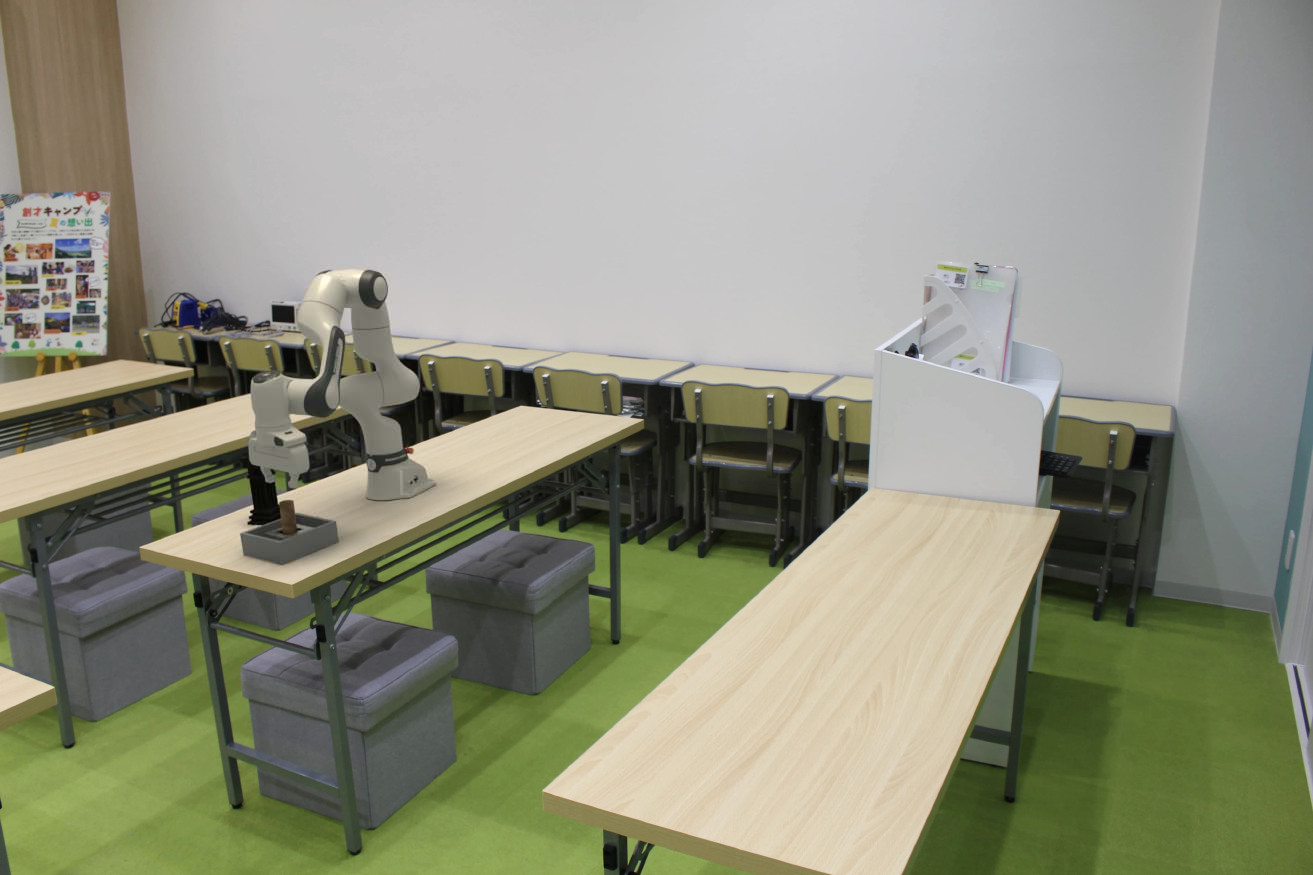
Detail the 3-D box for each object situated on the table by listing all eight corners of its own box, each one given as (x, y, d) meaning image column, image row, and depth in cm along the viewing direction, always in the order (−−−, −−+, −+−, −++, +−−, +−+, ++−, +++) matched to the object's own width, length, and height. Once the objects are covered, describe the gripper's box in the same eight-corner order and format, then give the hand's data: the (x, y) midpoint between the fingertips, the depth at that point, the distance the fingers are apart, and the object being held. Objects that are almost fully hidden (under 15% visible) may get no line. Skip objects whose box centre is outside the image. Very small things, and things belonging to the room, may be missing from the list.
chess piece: (272, 525, 270) (262, 458, 265) (247, 524, 271) (237, 458, 266) (288, 516, 277) (278, 451, 272) (264, 515, 279) (254, 450, 274)
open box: (300, 533, 263) (297, 512, 261) (338, 541, 254) (336, 521, 253) (243, 554, 248) (240, 533, 246) (282, 564, 240) (279, 542, 238)
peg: (292, 541, 253) (287, 499, 250) (301, 543, 251) (296, 501, 248) (281, 545, 250) (276, 502, 247) (290, 547, 248) (285, 505, 245)
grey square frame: (294, 536, 257) (292, 522, 256) (316, 541, 252) (314, 527, 251) (266, 547, 249) (263, 533, 248) (288, 553, 245) (285, 538, 244)
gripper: (239, 432, 246) (246, 482, 250) (289, 442, 235) (296, 494, 239) (260, 426, 251) (267, 475, 255) (310, 436, 241) (316, 487, 244)
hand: (281, 484), depth 247 cm, fingers open, 8 cm apart
